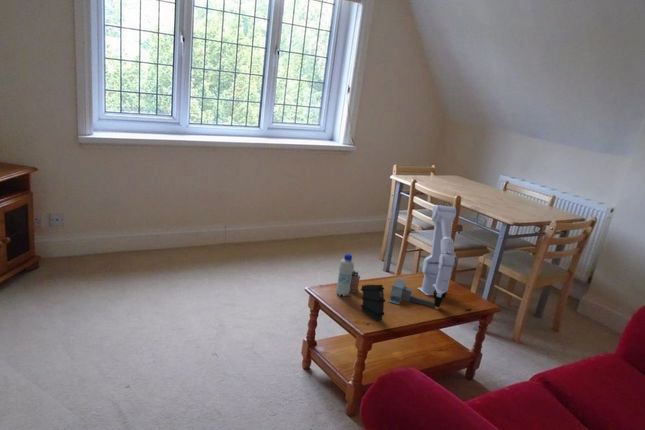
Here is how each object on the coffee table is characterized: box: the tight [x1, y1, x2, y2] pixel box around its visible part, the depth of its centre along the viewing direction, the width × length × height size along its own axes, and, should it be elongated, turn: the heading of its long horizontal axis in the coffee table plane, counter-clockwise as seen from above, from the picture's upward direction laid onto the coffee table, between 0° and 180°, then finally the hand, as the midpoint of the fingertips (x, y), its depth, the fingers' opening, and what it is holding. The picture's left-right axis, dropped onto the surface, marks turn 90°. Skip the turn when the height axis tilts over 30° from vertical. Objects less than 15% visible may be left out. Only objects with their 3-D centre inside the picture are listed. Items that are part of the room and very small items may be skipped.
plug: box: [401, 286, 440, 310], centre depth 226 cm, size 17×3×5 cm, turn 70°
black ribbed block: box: [360, 284, 386, 322], centre depth 208 cm, size 4×13×15 cm, turn 34°
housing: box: [387, 278, 408, 305], centre depth 229 cm, size 5×16×7 cm, turn 160°
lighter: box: [349, 269, 361, 293], centre depth 229 cm, size 8×3×10 cm, turn 84°
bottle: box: [335, 253, 355, 297], centre depth 222 cm, size 7×7×20 cm
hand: (437, 305), depth 224 cm, fingers closed on plug, 2 cm apart
